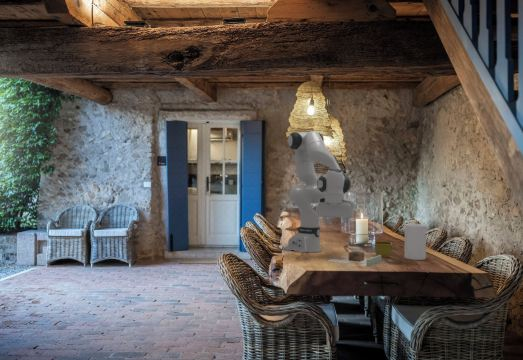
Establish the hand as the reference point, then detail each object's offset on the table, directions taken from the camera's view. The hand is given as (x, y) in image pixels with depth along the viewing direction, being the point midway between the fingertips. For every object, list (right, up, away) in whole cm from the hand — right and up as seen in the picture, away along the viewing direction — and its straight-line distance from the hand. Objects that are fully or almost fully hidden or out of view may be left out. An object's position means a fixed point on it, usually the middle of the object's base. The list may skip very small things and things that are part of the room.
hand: (334, 225), depth 245 cm
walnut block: (+10, -17, -7) cm, 21 cm away
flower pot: (+27, -19, +5) cm, 33 cm away
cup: (+45, -19, +9) cm, 50 cm away
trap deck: (+8, -19, -9) cm, 22 cm away
